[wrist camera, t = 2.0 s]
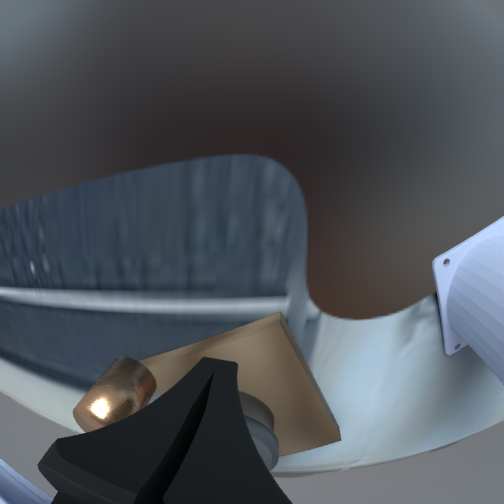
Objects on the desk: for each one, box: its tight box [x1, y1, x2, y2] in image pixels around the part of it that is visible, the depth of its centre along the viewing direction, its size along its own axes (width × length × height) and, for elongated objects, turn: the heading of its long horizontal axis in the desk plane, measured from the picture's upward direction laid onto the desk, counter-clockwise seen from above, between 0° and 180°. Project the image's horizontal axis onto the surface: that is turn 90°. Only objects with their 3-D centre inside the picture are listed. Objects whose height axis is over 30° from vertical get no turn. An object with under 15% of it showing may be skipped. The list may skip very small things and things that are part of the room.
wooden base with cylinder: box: [138, 312, 341, 472], centre depth 16 cm, size 13×12×6 cm
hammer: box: [73, 357, 160, 433], centre depth 10 cm, size 10×2×4 cm, turn 25°
